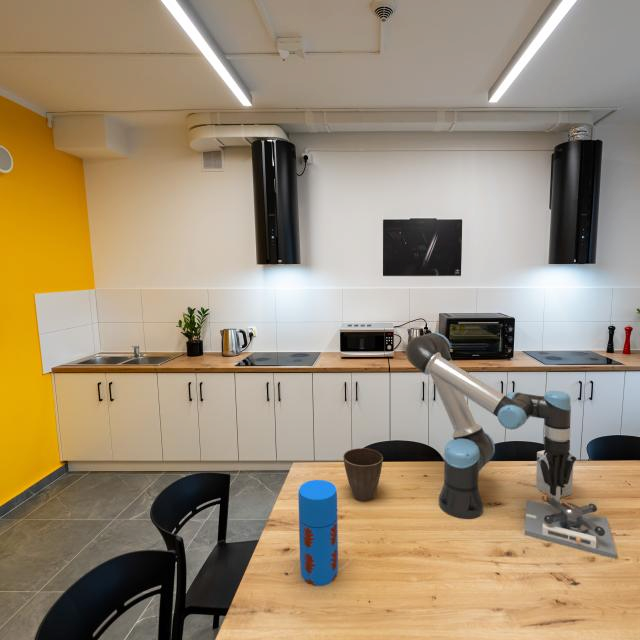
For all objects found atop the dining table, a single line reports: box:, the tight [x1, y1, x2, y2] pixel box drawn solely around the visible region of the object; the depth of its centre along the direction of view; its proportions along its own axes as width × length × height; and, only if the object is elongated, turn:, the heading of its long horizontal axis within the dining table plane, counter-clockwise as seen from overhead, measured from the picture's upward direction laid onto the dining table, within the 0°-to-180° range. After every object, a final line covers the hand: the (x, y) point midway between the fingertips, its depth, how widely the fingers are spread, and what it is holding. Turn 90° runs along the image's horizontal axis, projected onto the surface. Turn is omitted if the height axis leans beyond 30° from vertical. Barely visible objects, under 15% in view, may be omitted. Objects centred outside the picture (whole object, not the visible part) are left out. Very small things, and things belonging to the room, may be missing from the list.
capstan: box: [541, 493, 605, 536], centre depth 129 cm, size 22×22×6 cm
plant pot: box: [342, 447, 384, 502], centre depth 151 cm, size 15×15×16 cm
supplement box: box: [535, 449, 574, 499], centre depth 152 cm, size 9×9×15 cm
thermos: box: [297, 479, 339, 587], centre depth 112 cm, size 11×11×25 cm
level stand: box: [524, 499, 618, 560], centre depth 130 cm, size 24×21×4 cm
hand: (555, 503), depth 136 cm, fingers closed
